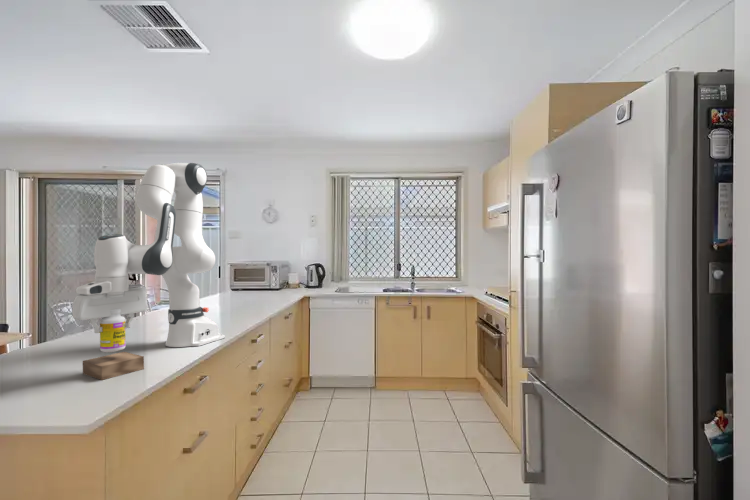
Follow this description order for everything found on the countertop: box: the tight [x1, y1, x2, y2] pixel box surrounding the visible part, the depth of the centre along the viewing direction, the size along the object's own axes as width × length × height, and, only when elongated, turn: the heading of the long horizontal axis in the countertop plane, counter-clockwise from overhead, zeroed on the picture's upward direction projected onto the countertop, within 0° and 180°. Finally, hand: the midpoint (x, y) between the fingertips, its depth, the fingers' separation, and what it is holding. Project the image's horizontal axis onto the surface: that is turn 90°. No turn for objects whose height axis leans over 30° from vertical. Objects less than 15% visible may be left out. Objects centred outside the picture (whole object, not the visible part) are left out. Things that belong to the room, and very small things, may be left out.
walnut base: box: [82, 351, 145, 381], centre depth 123 cm, size 12×12×4 cm
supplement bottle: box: [99, 309, 127, 353], centre depth 123 cm, size 7×7×13 cm
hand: (112, 330), depth 123 cm, fingers closed on supplement bottle, 7 cm apart
